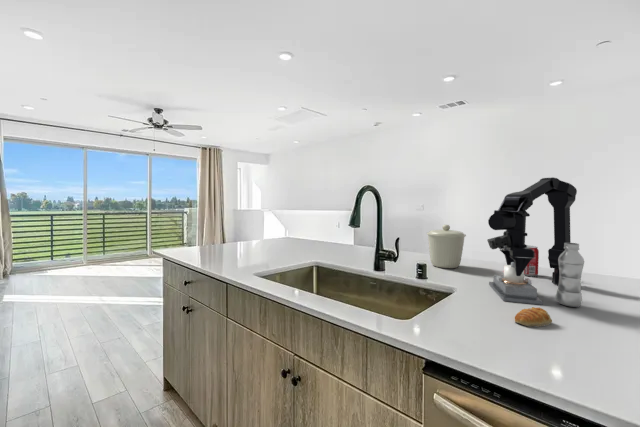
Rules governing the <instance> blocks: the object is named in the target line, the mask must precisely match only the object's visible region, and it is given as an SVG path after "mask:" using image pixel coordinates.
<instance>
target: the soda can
mask: <svg viewBox="0 0 640 427" xmlns="http://www.w3.org/2000/svg"><path fill="white" fill-rule="evenodd" d="M526 245H527V244H526ZM527 248H530V249H532V250H533V251H534V252H535V254H534V258H532V260H531V261H530V262H529V263H528V265H527V266H526V268H525V269H524V275H525V276H524V277H530V276H533V277H534V276H535V277H537V276H538V274H539V260H540V259H539V258H540V256H539V252H540V250H539V249H538V246H535V245H527ZM533 277H532V278H533Z"/></svg>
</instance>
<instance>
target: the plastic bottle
mask: <svg viewBox="0 0 640 427" xmlns="http://www.w3.org/2000/svg"><path fill="white" fill-rule="evenodd" d="M564 249H565V251H564V252H563V253H561V255H560V256H559V258H558V263H559V275H560V276H559V285H558V286H557V290H556V292H555V293H556V294H555V298H556V301H557V302H558V304H561V305H563V306H567V307H572V308H578V307H580V306H581V305H582V303H583V295H582V284H581V281H582V276H583V274H582V273H583V269H584V267H585V266H584V265H585V259H584V257H583V256H582V254H581V253H580V252H579V251H580V243H576V242H575V243H574V242H571V243H564Z"/></svg>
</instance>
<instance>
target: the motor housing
mask: <svg viewBox="0 0 640 427" xmlns="http://www.w3.org/2000/svg"><path fill="white" fill-rule="evenodd" d="M492 280H493V281H489V282H488V285H489V286H490V287H491V289H492V290H493V291H494V292H495V293H496V295H497V296H499V298H500V299H501V300H502V301H503V302H510V303H518V304H529V305H530V304H531V305H540V306H543V300H541V299H540V297H538V289H537V287H535V286H534V285H533V284H532V279H530V278H527V277H524V283H512V282H507V281H505V280H504V275H501V274H500V275H499V274H493V279H492Z"/></svg>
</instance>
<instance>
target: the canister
mask: <svg viewBox="0 0 640 427" xmlns="http://www.w3.org/2000/svg"><path fill="white" fill-rule="evenodd" d="M450 228H451V226H450V224H443V225H442V229H431V230H430V231H428V232H426V235H427V238H428V239H427V240H428V250H429V259H430V263H431V264H432V266H434V267H437V268H440V269H441V268H442V269H456V268H458V267H459V266H460V265H461V262H462V256H463V251H464V243H465V238H466V237H467V235H466V234H465V233H464V232H462V231H459V230H454V229H452V230H451V229H450Z"/></svg>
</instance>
